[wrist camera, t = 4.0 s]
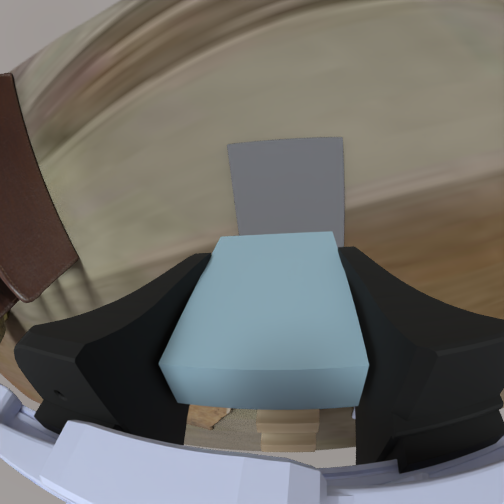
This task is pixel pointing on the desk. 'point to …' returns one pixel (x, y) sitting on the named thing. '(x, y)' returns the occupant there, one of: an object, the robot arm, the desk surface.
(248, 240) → the tile
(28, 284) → the letter holder
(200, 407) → the pottery shard
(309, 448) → the tile
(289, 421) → the tile
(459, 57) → the desk surface
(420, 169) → the desk surface
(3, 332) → the cup
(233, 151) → the felt runner
